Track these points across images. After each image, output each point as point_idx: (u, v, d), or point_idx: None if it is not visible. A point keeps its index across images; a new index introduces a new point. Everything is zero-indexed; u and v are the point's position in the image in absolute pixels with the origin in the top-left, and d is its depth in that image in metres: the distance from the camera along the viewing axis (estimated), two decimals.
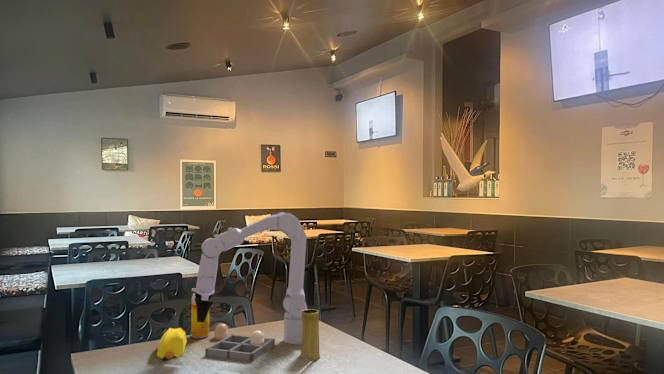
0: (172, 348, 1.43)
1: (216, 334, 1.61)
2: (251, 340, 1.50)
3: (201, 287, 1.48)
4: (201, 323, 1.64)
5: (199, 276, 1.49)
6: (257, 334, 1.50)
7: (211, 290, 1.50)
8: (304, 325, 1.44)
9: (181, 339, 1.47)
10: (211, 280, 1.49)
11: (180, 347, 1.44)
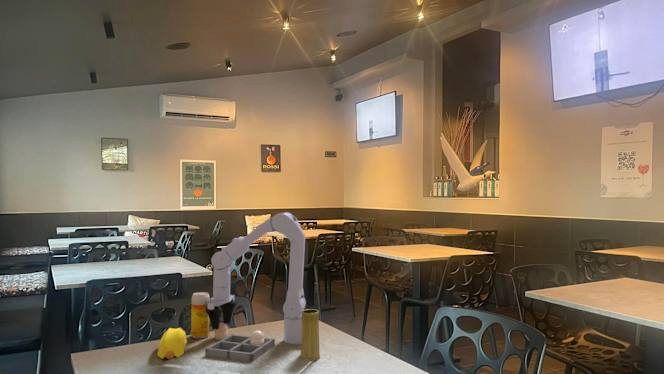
0: (172, 348, 1.43)
1: (216, 334, 1.61)
2: (251, 340, 1.50)
3: (214, 297, 1.61)
4: (201, 323, 1.64)
5: (213, 287, 1.62)
6: (257, 334, 1.50)
7: (223, 299, 1.60)
8: (304, 325, 1.44)
9: (181, 339, 1.47)
10: (221, 290, 1.60)
11: (181, 347, 1.44)
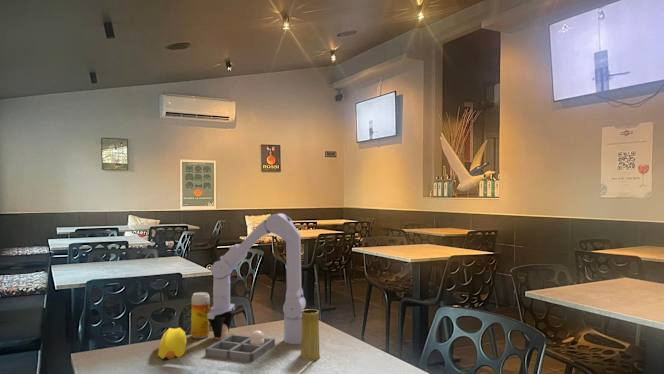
0: (173, 348, 1.43)
1: None
2: (251, 340, 1.50)
3: (214, 306, 1.61)
4: (201, 323, 1.64)
5: (213, 296, 1.62)
6: (257, 334, 1.50)
7: (223, 309, 1.60)
8: (304, 325, 1.44)
9: (182, 339, 1.47)
10: (221, 299, 1.60)
11: (181, 346, 1.45)
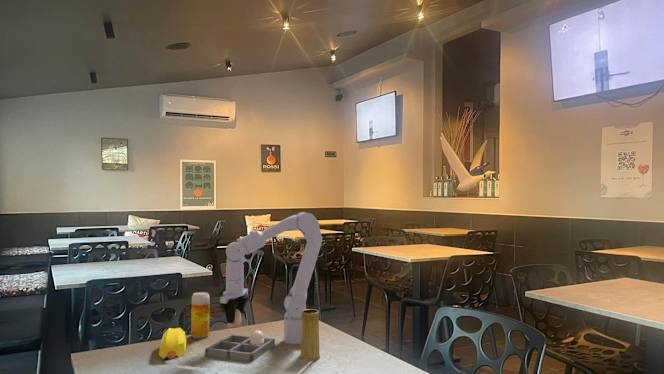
0: (174, 348, 1.43)
1: None
2: (251, 340, 1.50)
3: (227, 290, 1.53)
4: (201, 323, 1.64)
5: (226, 280, 1.55)
6: (257, 334, 1.50)
7: (236, 293, 1.53)
8: (304, 325, 1.44)
9: (182, 339, 1.47)
10: (234, 283, 1.53)
11: (182, 346, 1.45)
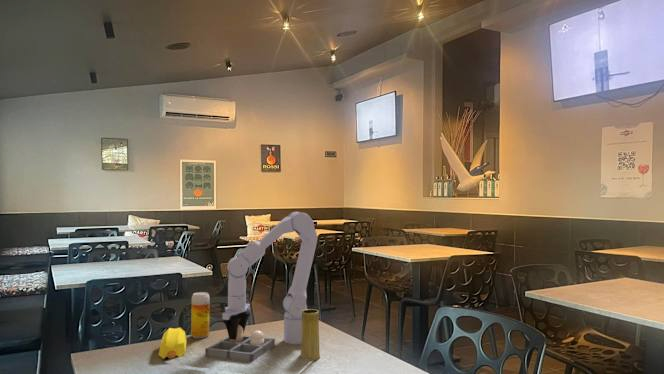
0: (174, 348, 1.43)
1: None
2: (251, 340, 1.50)
3: (229, 306, 1.52)
4: (201, 323, 1.64)
5: (228, 295, 1.53)
6: (257, 334, 1.50)
7: (238, 309, 1.52)
8: (304, 325, 1.44)
9: (182, 339, 1.47)
10: (237, 299, 1.51)
11: (182, 346, 1.45)
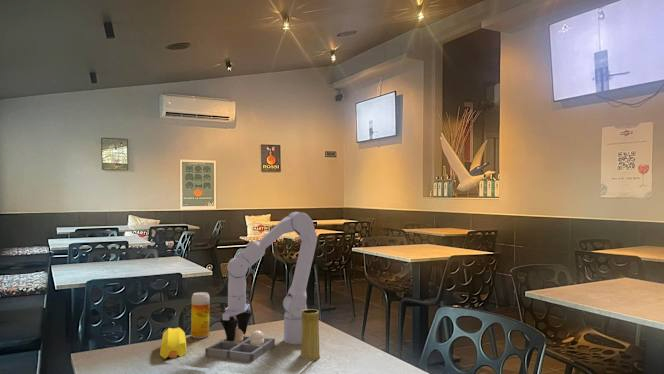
0: (176, 347, 1.43)
1: None
2: (251, 340, 1.50)
3: (229, 307, 1.52)
4: (201, 323, 1.64)
5: (228, 296, 1.53)
6: (257, 334, 1.50)
7: (238, 309, 1.52)
8: (304, 325, 1.44)
9: (183, 338, 1.48)
10: (237, 299, 1.51)
11: (183, 346, 1.45)
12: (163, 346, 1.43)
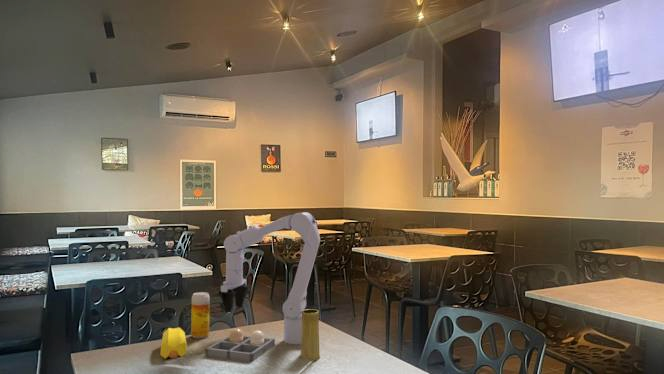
0: (176, 347, 1.43)
1: (231, 340, 1.52)
2: (251, 340, 1.50)
3: (227, 280, 1.62)
4: (201, 323, 1.64)
5: (226, 270, 1.63)
6: (257, 334, 1.50)
7: (236, 282, 1.61)
8: (304, 325, 1.44)
9: (184, 338, 1.48)
10: (234, 273, 1.61)
11: (184, 346, 1.45)
12: (163, 346, 1.43)
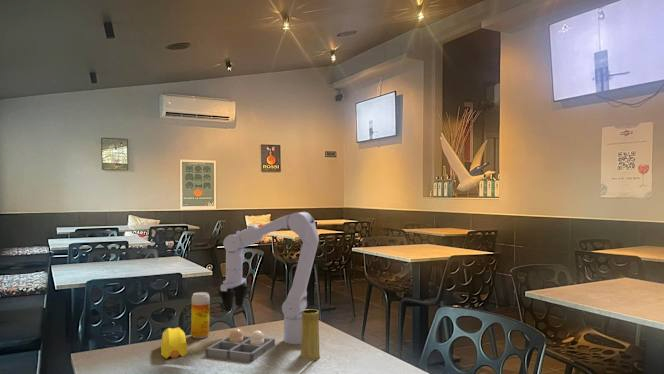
0: (177, 347, 1.43)
1: (231, 340, 1.52)
2: (251, 340, 1.50)
3: (227, 279, 1.63)
4: (201, 323, 1.64)
5: None
6: (257, 334, 1.50)
7: (235, 282, 1.62)
8: (304, 325, 1.44)
9: (184, 338, 1.48)
10: (234, 272, 1.62)
11: (185, 346, 1.45)
12: (164, 346, 1.43)
